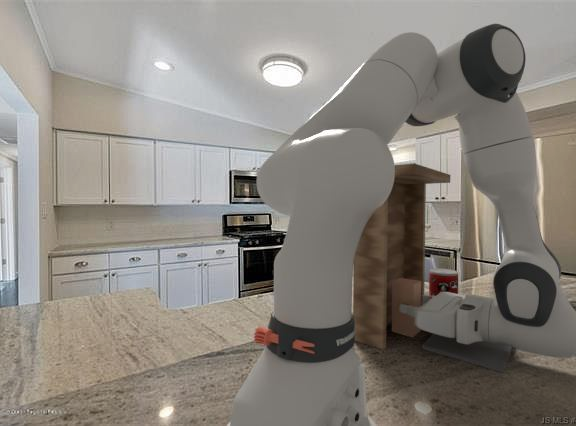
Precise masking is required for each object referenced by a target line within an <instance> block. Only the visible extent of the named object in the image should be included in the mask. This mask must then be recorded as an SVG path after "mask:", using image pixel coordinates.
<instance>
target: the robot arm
mask: <svg viewBox="0 0 576 426" xmlns="http://www.w3.org/2000/svg"><path fill="white" fill-rule="evenodd" d="M435 47H436V46H435V45H434V43H433V42H432V41H431V40H430V39H429V38H428V37H426V36H425V35H424V34H421V33H418V32H404V33H401V34H397V35H396V36H395V37H393V38H391V39H390V40H388V41H387V42H386V43H384V44H383V45H381V47H379V48H378V49H377V50H375V51H374V52H373V53H372V54H371V55H370V56H369V57H368V58H367V59H366V60H365V61H364V62H363V63H362V64H361V66H359V67H358V68H357V70H356V71H354V73H353V74H352V75H351V77H350V78H349V79H348V80H346V82H345V83H344V84H343V85H342V86H341V87H340V88H339V90H338V91H337V92H336V93H335V94H334V95H333V96H332V97H331V98H330V99H329V101H327V102H326V103H325V104H324V105H323V106H322V107H321V108H320V109H318V110H317V112H314V114H313V115H312V116H310V118H308V120H307V121H305V122H304V123H303V124H302V125H301V126H300V127H299V128H298V129H297V130H295V131H294V133H293V134H291V136H289V137H288V138H287V139H286V140H285V141H284V142H283V143H282V144H281V145H280V146H279V147H278V148H277V149H276V150H275V151H274V152H273V153H272V154H271V155H270V156H269V157H268V158H267V159H266V160H265V161H264V162H263V164H261V166H260V168H259V169H258V172H257V175H256V182H255V183H256V191H257V193H258V195H259V198H260V199H261V200H262V202H263V203H264V205H266V206H267V207H269V208H271V209H272V210H274V211H276V212H278V213H279V214H281V215H285V216H289V220H288V225H287V230H286V234H285V237H284V240H283V243H282V247H281V249H280V250H279V251H278V253H276V256H275V257H274V261H273V311H272V312H271V314H270V317H269V322H268V324H267V328H265V327H263V326H258V327H256V328H255V332H254V334H253V335H254V336H253V340H254V341H255V343H257V344H263V345H265V347H264V349H263V350H262V352H261V353H260V356H259V357H258V359H257V360H256V361H255V364H254V366H253V367H252V369H251V371H250V372H249V374H248V375H247V377H246V379H245V380H244V383H243V384H242V385H241V387H240V389H239V390H238V392H237V394H236V396H235V397H234V399H233V403H232V405H231V406H232V407H231V412H230V420H229V422H228V423H227V424H226V426H378V425H377V424H376V422H375V421H374V420H373V419H372V417H370V416H369V415H368V408H367V407H368V406H367V405H368V403H367V388H366V371H365V366H364V365H363V363H362V361H361V360H360V359H359V357H358V355H357V353H356V351H355V348H354V346H355V332H356V327H355V320H354V316H353V302H352V301H353V298H352V297H353V277H354V258H355V253H356V249H357V246H358V243H359V240H360V237H361V234H362V232H363V230H364V227H365V225H366V223H367V222H368V220H369V218H370V217H371V215H372V214H373V213H374V212H375V211H376V210H377V209H378V208H379V207H380V206H381V205H382V204H383V203H384V202H385V201H386V199H387V198H388V196H389V194H390V192H391V190H392V187H393V183H394V178H395V166H394V165H395V161H394V157H393V154H392V152H391V150H390V147H389V146H388V145H389V144H390V142H392V140H393V139H394V137H395V136H396V134H397V133H398V132H399V130H400V129H401V128H402V126H403V125H404V124H408V125H409V126H412V127H425V126H428V125H432V124H434V123H436V122H437V121H440V120H444V119H447V118H450V117H453V116H454V119H455V120H456V121H457V123H458V131H459V142H460V148H461V152H462V158H463V161H464V166H465V170H466V171H467V175H468V177H469V180H470V181H471V184H472V185H473V187H474V188H475V189H476V190H477V191H478V192H480V193H481V194H482V195H484V196H485V197H486V198H488V199H489V201H490V202H491V203H492V204H493V206H494V208H495V210H496V213H497V216H498V221H499V223H500V229H501V233H502V236H503V241H504V252H503V255H502V257H501V260H500V263H499V266H498V267H497V268H496V270H495V273H494V275H493V278H492V280H493V281H492V285H493V290H494V295H495V297H491V296H490V297H489V296H483V295H477V294H471V293H467V294H466V295H464V294H460V293H458V294H455V293H450V292H440V293H439V294H438V295H436V296H429V295H424V296H423V295H421V304H423V305H422V306H420V307H412V306H410V304H405V303H403V304H401V305H400V307H399V310H400V312H401V313H405V314H408V315H410V316H411V317H413V318H415V326H416V327H418V328H419V329H421V330H422V331H424V332H427V333H430V334H432V335H433V334H437V335H440V336H444V337H448V338H455V337H456V341H457V342H458V343H462V344H471V343H474V342H482V341H485V342H488V343H493V344H505V345H508V346H511V347H512V349H515V350H518V351H521V352H524V353H528V354H534V355H538V356H544V357H549V358H555V359H571V358H574V357H575V356H576V310H575V309H574V308H573V306H572V305H571V303H570V302H569V300H568V297H566V294H565V292H564V290H563V288H562V286H561V284H560V280H561V277H562V266H561V264H560V261H559V260H558V258H557V257H556V255H555V254H554V252H552V251H551V250H550V248H549V247H548V246H547V244H546V243H545V241H544V240H543V236H542V232H541V229H540V223H539V224H538V222H539V220H538V216H537V212H536V207H535V203H534V202H535V201H534V193H535V192H534V191H535V184H536V179H537V178H536V177H537V152H536V145H535V139H534V135H533V130H532V127H531V123H530V120H529V117H528V115H527V112H526V109H525V107H524V105H523V102H522V100H521V98H520V97H519V94H518V92H517V91H518V86H519V83H520V82H521V80H522V77H523V74H524V71H525V66H526V51H525V47H524V44H523V42H522V40H521V38H520V37H519V35H518V34H517V33H516V32H515V30H513V29H512V28H510V27H508V26H505V25H504V24H503V25H502V24H500V23H491V24H488V25H485V26H483V27H480V28H478V29H476V30H473V31H471V32H469V33H468V34H466V36H465V37H464V38H462V39H461V40H458V41H457V42H455V43H453V44H451V45H450V46H447V47H446V48H445V49H443V50H441V51H440V52H438V53H437V49H436V48H435Z"/></svg>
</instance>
